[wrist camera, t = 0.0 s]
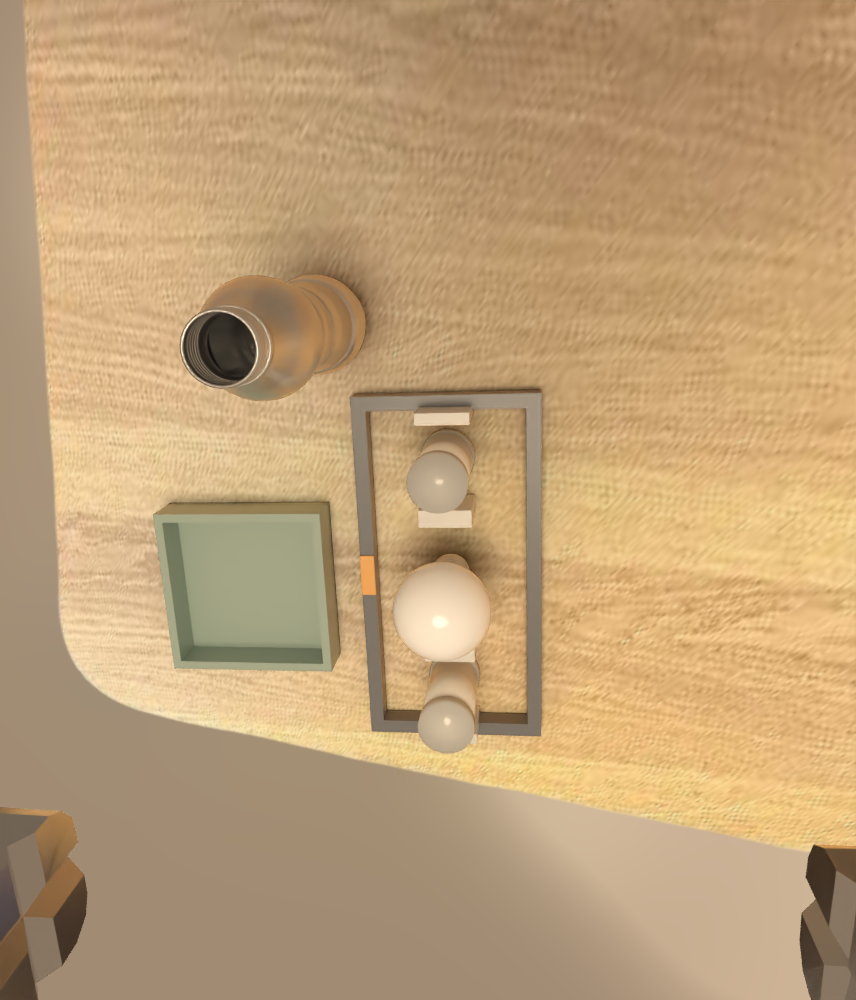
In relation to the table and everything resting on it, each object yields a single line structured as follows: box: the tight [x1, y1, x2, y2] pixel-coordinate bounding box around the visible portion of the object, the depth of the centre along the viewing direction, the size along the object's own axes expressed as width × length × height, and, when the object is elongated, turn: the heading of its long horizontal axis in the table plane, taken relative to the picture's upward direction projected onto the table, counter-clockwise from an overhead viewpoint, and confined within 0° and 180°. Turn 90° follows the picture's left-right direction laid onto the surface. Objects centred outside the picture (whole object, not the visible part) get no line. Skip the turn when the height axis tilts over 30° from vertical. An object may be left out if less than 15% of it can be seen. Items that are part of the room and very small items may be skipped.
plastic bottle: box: [180, 275, 366, 401], centre depth 44 cm, size 6×7×20 cm
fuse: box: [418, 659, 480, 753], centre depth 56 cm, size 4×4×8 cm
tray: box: [153, 502, 341, 672], centre depth 58 cm, size 12×12×3 cm
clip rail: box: [350, 390, 542, 744], centre depth 56 cm, size 26×13×4 cm, turn 2°
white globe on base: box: [406, 429, 475, 514], centre depth 52 cm, size 4×4×8 cm
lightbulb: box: [393, 554, 491, 661], centre depth 53 cm, size 6×6×11 cm
